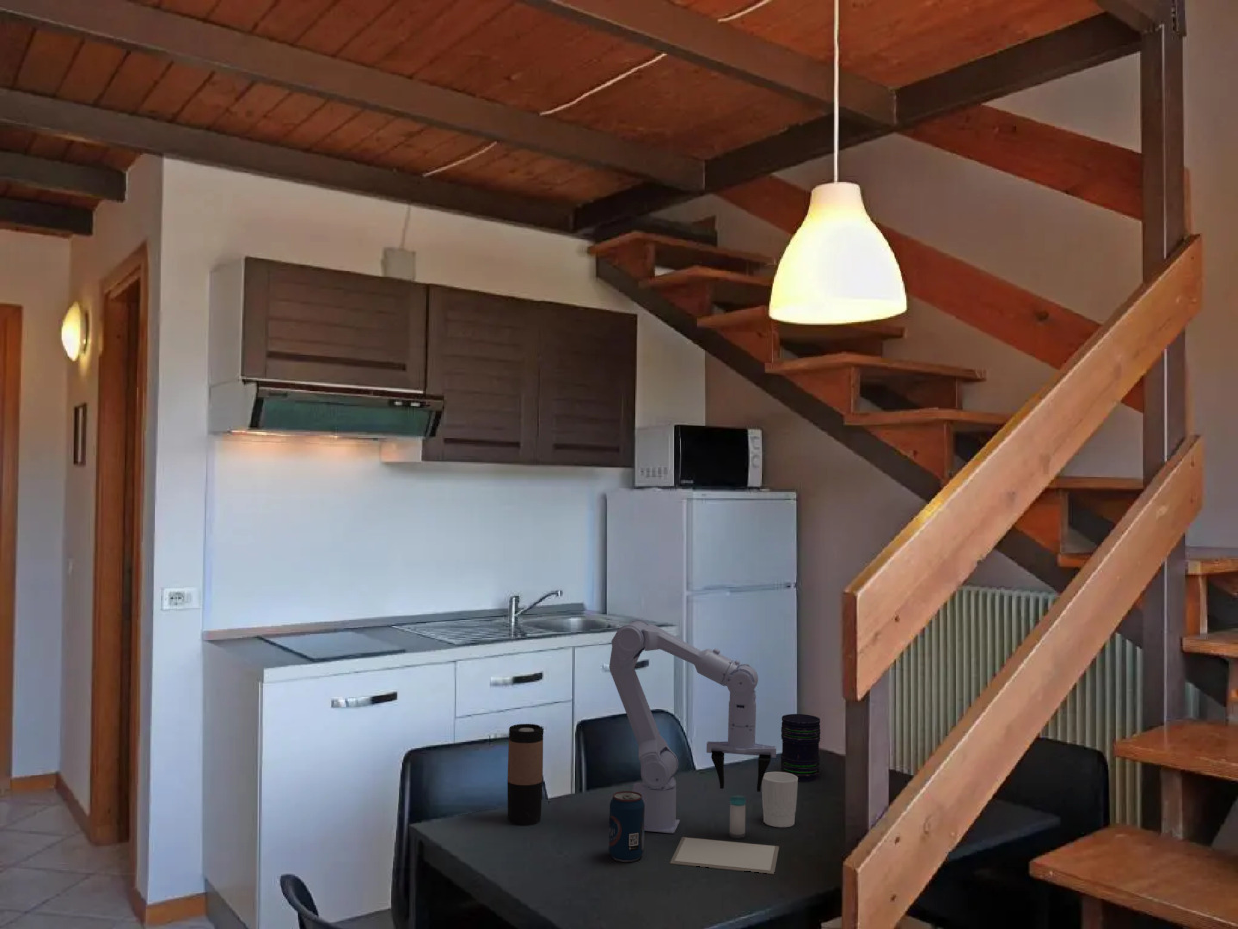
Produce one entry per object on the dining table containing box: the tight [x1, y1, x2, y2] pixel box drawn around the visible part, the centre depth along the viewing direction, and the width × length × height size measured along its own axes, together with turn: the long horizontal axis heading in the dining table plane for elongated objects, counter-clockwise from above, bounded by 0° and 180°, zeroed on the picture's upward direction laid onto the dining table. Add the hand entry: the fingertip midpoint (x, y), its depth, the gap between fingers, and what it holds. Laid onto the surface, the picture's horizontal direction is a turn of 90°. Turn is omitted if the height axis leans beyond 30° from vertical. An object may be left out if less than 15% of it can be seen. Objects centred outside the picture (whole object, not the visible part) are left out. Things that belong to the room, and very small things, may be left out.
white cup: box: [761, 771, 799, 828], centre depth 219 cm, size 8×8×10 cm
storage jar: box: [780, 713, 821, 784], centre depth 254 cm, size 10×10×15 cm
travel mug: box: [506, 723, 544, 826], centre depth 217 cm, size 8×8×20 cm
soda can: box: [608, 790, 645, 863], centre depth 197 cm, size 7×7×12 cm
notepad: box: [669, 836, 780, 875], centre depth 198 cm, size 20×15×1 cm
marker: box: [729, 794, 747, 839], centre depth 210 cm, size 3×3×8 cm
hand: (740, 789), depth 210 cm, fingers open, 7 cm apart
